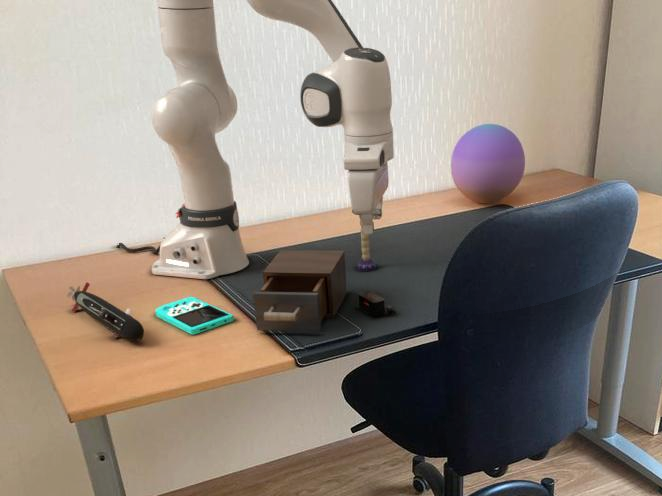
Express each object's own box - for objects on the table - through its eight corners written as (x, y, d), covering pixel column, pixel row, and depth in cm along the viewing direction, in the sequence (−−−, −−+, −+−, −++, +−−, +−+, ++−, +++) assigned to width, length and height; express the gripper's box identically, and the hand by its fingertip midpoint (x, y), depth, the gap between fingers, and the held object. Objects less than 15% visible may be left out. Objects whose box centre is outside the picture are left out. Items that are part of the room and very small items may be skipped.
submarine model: (81, 313, 180) (39, 293, 173) (95, 286, 180) (54, 264, 172) (146, 358, 159) (102, 336, 152) (163, 327, 159) (119, 304, 151)
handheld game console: (193, 300, 177) (192, 294, 176) (236, 320, 166) (235, 314, 166) (151, 314, 171) (150, 308, 171) (192, 335, 161) (191, 328, 160)
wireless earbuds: (376, 320, 163) (375, 304, 162) (358, 309, 169) (357, 293, 167) (396, 314, 165) (396, 298, 163) (377, 304, 170) (377, 288, 169)
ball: (514, 190, 239) (518, 115, 228) (530, 209, 223) (535, 129, 212) (445, 194, 239) (445, 120, 228) (456, 214, 222) (457, 134, 211)
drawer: (314, 342, 154) (311, 304, 150) (249, 340, 156) (245, 303, 152) (333, 307, 168) (331, 271, 164) (274, 305, 170) (270, 270, 166)
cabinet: (333, 317, 165) (330, 273, 160) (267, 316, 168) (262, 272, 163) (347, 293, 176) (344, 250, 171) (284, 291, 179) (280, 250, 174)
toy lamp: (373, 272, 187) (370, 196, 177) (353, 271, 188) (349, 195, 178) (377, 265, 191) (374, 190, 181) (357, 264, 191) (353, 190, 182)
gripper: (362, 137, 160) (366, 210, 168) (341, 162, 143) (346, 241, 151) (394, 136, 159) (397, 210, 167) (377, 161, 142) (381, 241, 150)
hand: (373, 225), depth 159 cm, fingers open, 8 cm apart
